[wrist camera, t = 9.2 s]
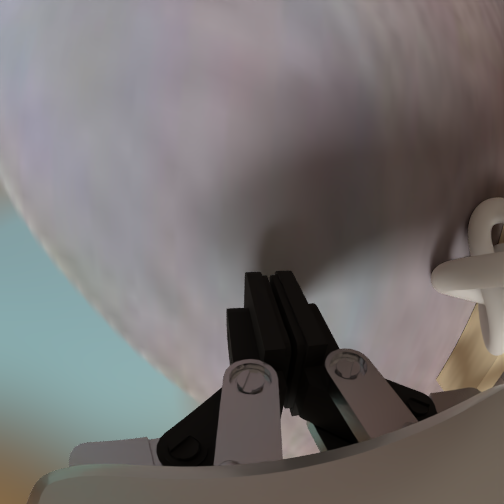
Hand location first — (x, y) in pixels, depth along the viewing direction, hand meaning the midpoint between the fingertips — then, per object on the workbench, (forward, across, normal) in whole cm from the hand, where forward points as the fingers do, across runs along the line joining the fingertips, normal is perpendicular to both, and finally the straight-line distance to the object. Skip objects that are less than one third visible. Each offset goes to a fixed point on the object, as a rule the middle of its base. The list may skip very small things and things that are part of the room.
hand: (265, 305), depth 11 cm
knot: (+2, -13, -1) cm, 13 cm away
